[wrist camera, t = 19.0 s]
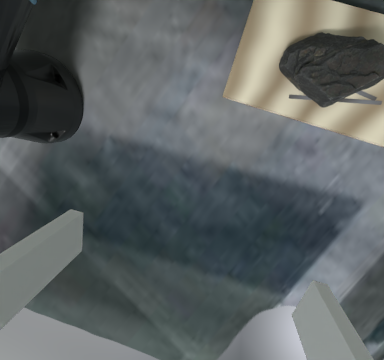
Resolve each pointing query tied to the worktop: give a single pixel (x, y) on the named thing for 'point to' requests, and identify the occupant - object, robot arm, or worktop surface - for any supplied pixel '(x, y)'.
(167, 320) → the worktop surface
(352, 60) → the rock
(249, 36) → the board
